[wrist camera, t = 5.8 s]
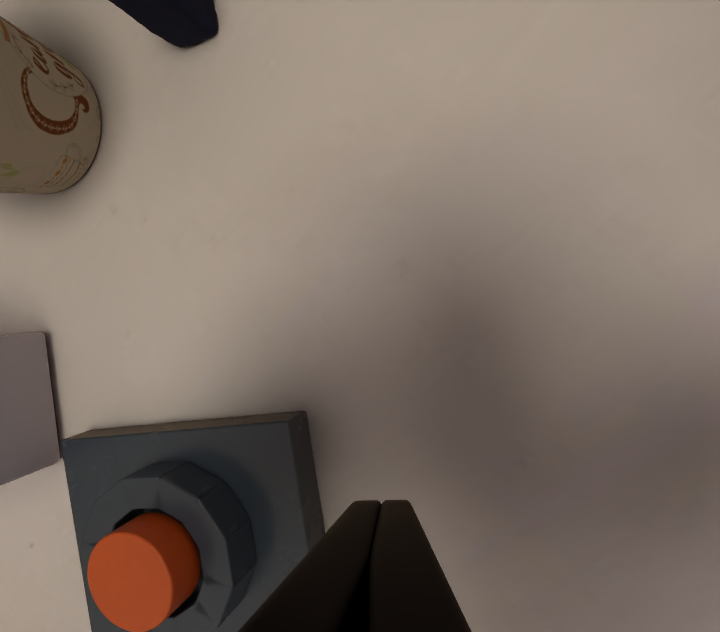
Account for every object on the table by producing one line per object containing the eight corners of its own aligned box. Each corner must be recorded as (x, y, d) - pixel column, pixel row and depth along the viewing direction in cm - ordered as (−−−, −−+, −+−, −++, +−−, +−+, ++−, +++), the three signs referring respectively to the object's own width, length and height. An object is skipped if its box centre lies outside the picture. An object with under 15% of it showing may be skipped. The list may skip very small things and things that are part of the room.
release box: (306, 410, 21) (266, 434, 18) (339, 627, 21) (307, 691, 18) (89, 429, 24) (22, 453, 21) (120, 618, 25) (58, 671, 21)
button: (193, 510, 19) (163, 531, 18) (208, 605, 19) (179, 635, 18) (114, 512, 20) (78, 533, 19) (129, 602, 21) (94, 631, 19)
